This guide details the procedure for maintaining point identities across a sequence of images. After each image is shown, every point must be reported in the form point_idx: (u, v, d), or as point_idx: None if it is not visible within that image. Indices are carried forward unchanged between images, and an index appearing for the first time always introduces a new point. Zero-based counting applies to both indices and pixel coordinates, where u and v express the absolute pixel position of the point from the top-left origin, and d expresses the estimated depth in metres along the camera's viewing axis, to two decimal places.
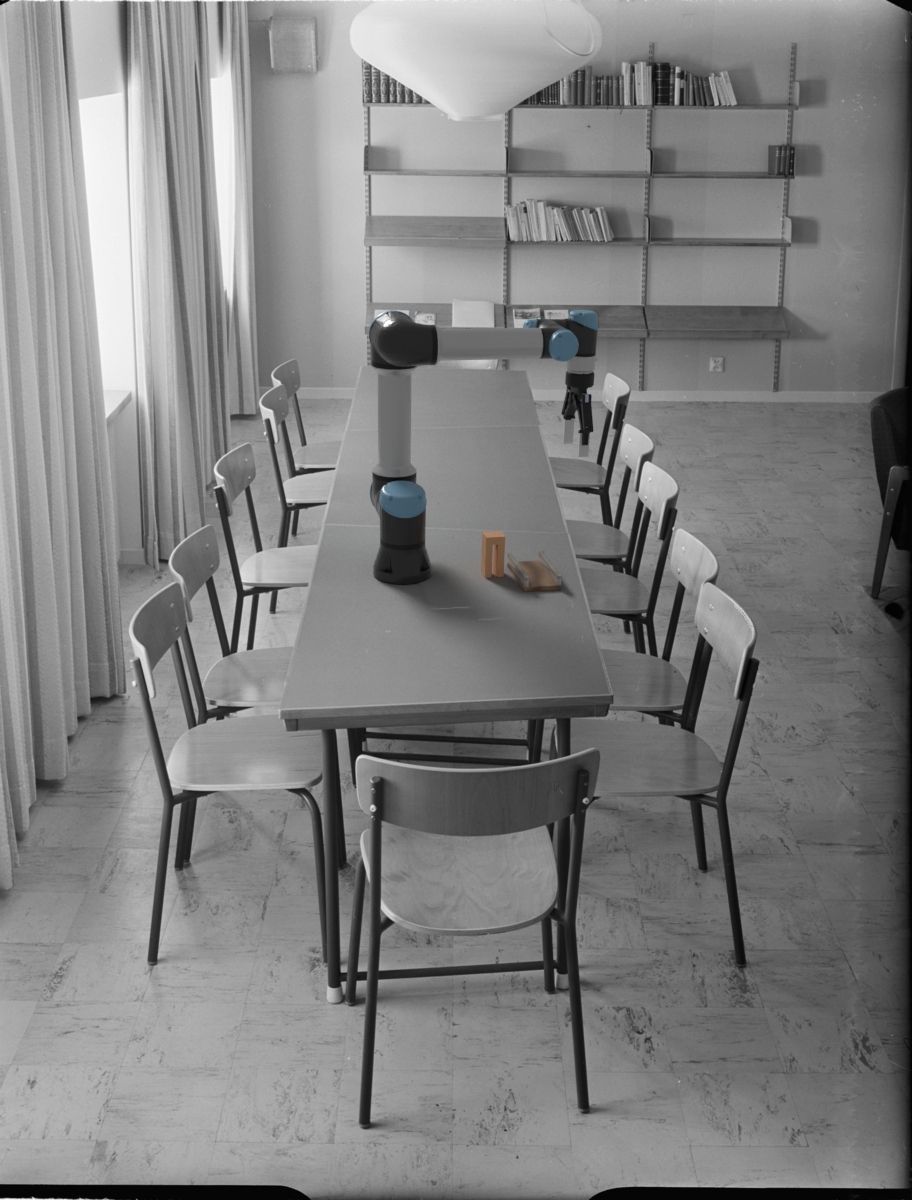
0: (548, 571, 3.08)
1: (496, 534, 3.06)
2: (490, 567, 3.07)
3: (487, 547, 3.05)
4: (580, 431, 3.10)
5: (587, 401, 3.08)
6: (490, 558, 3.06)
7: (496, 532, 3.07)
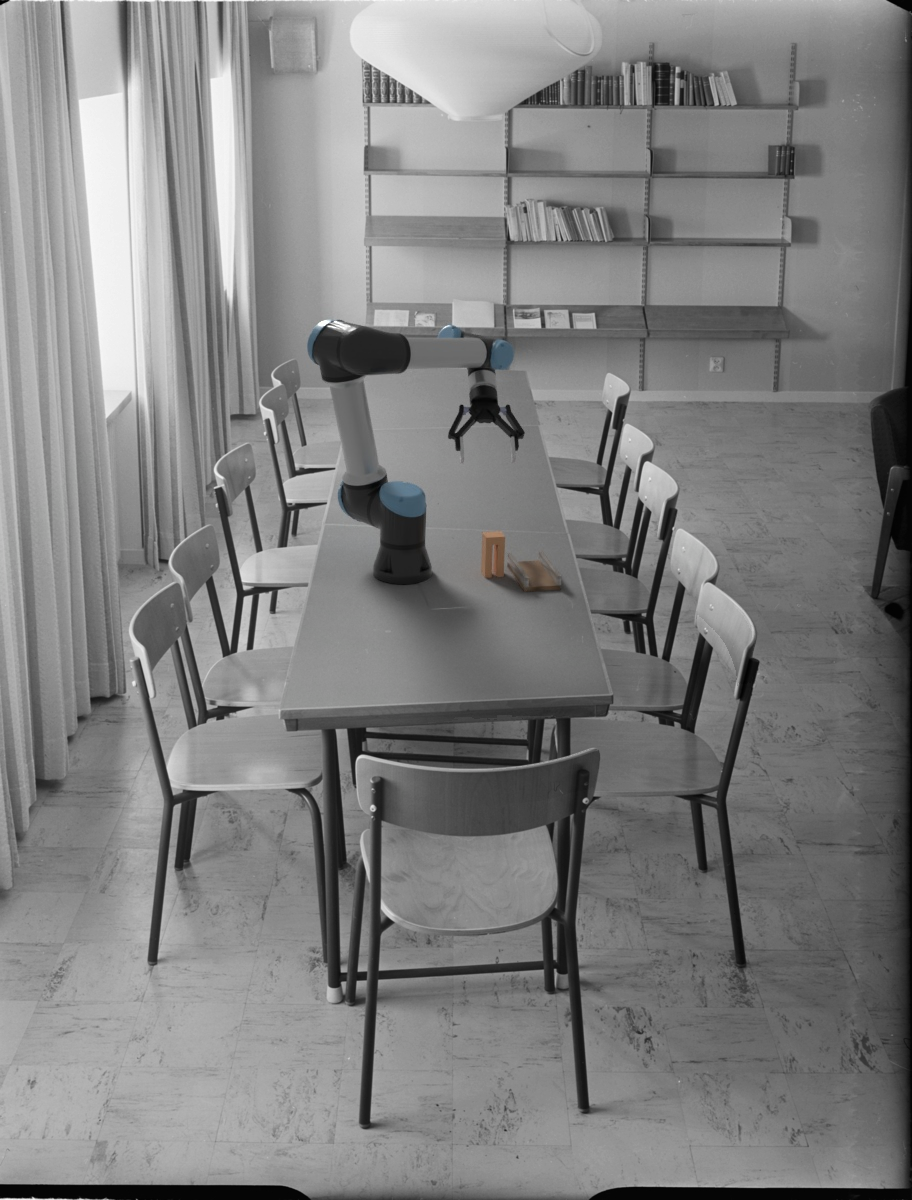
0: (548, 571, 3.08)
1: (496, 534, 3.06)
2: (490, 567, 3.07)
3: (487, 547, 3.05)
4: (518, 433, 3.14)
5: None
6: (490, 558, 3.06)
7: (496, 532, 3.07)
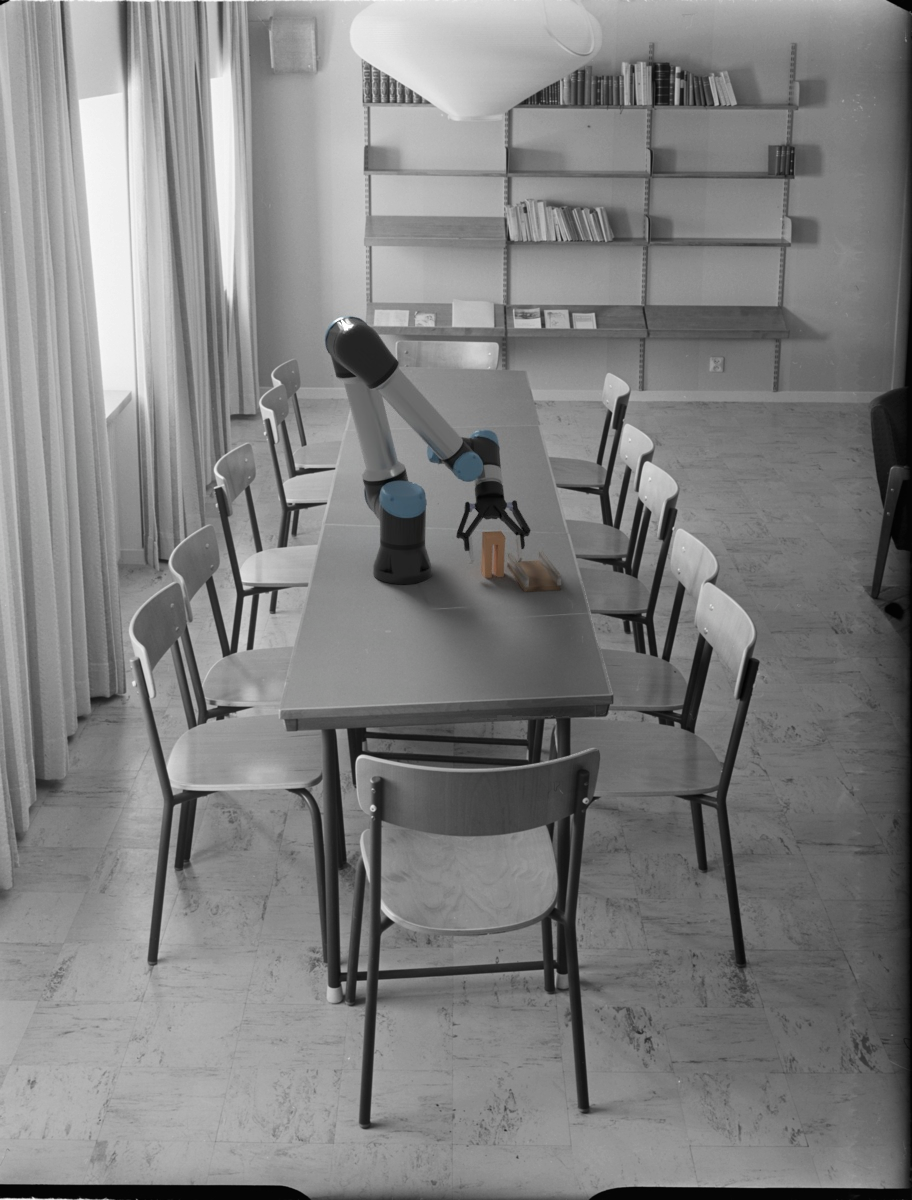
0: (548, 571, 3.08)
1: (496, 534, 3.06)
2: (490, 567, 3.07)
3: (487, 547, 3.05)
4: (524, 532, 3.08)
5: None
6: (490, 558, 3.06)
7: (496, 532, 3.07)
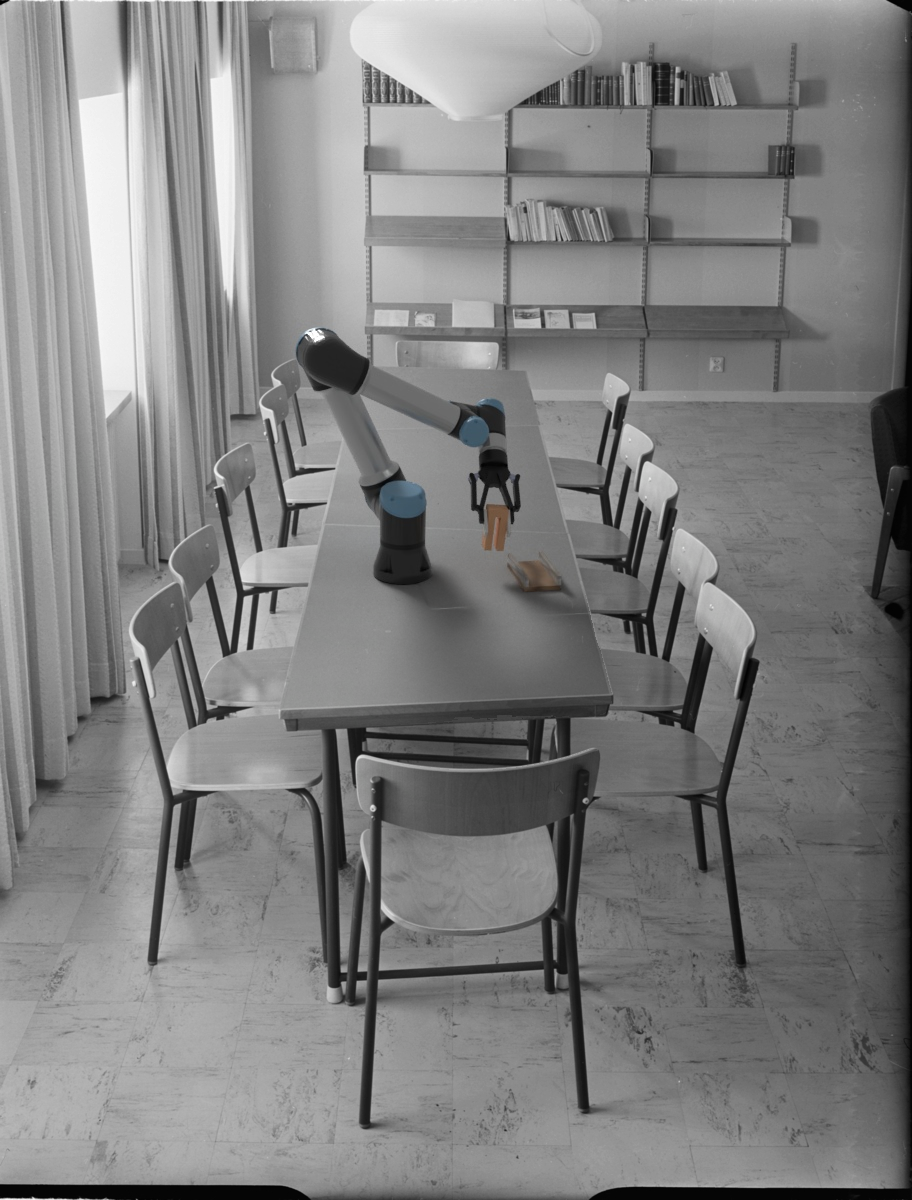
0: (548, 571, 3.08)
1: (500, 507, 3.04)
2: (491, 540, 3.04)
3: (490, 519, 3.02)
4: (514, 507, 3.04)
5: None
6: (492, 531, 3.03)
7: (500, 505, 3.05)
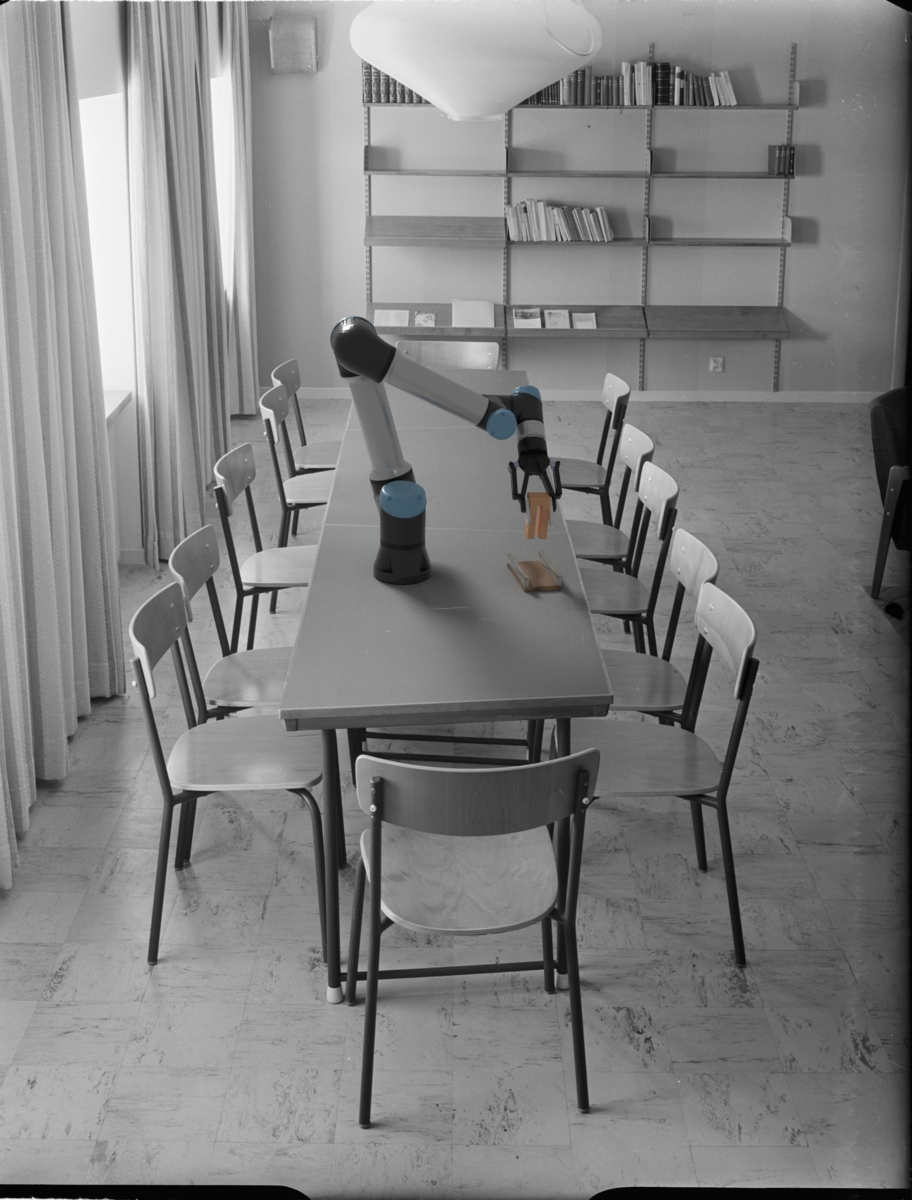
0: (548, 571, 3.08)
1: (541, 494, 3.00)
2: (533, 528, 3.01)
3: (532, 507, 2.99)
4: (555, 495, 3.01)
5: None
6: (534, 519, 3.00)
7: (541, 493, 3.01)
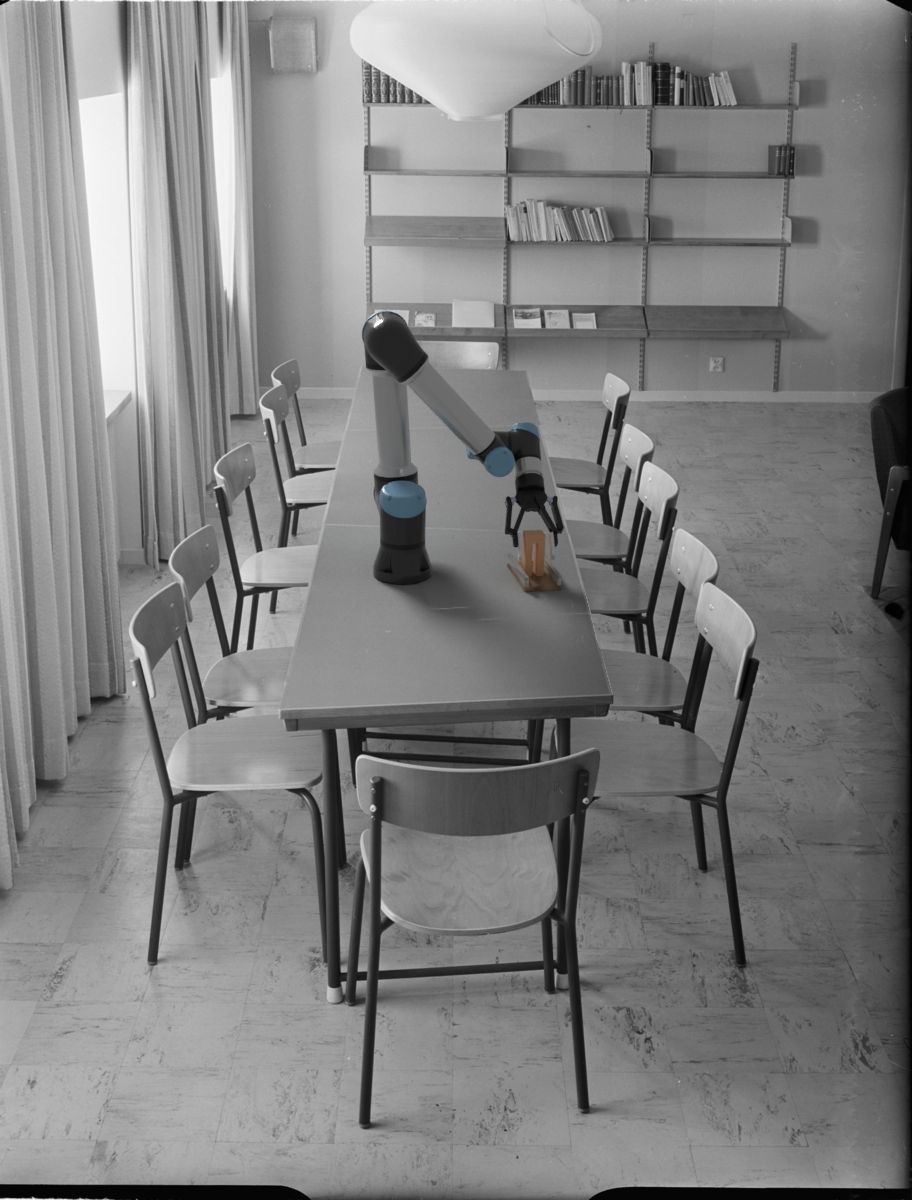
0: (548, 571, 3.08)
1: (536, 532, 3.04)
2: (530, 566, 3.05)
3: (527, 546, 3.03)
4: (557, 529, 3.05)
5: None
6: (530, 557, 3.04)
7: (537, 531, 3.05)
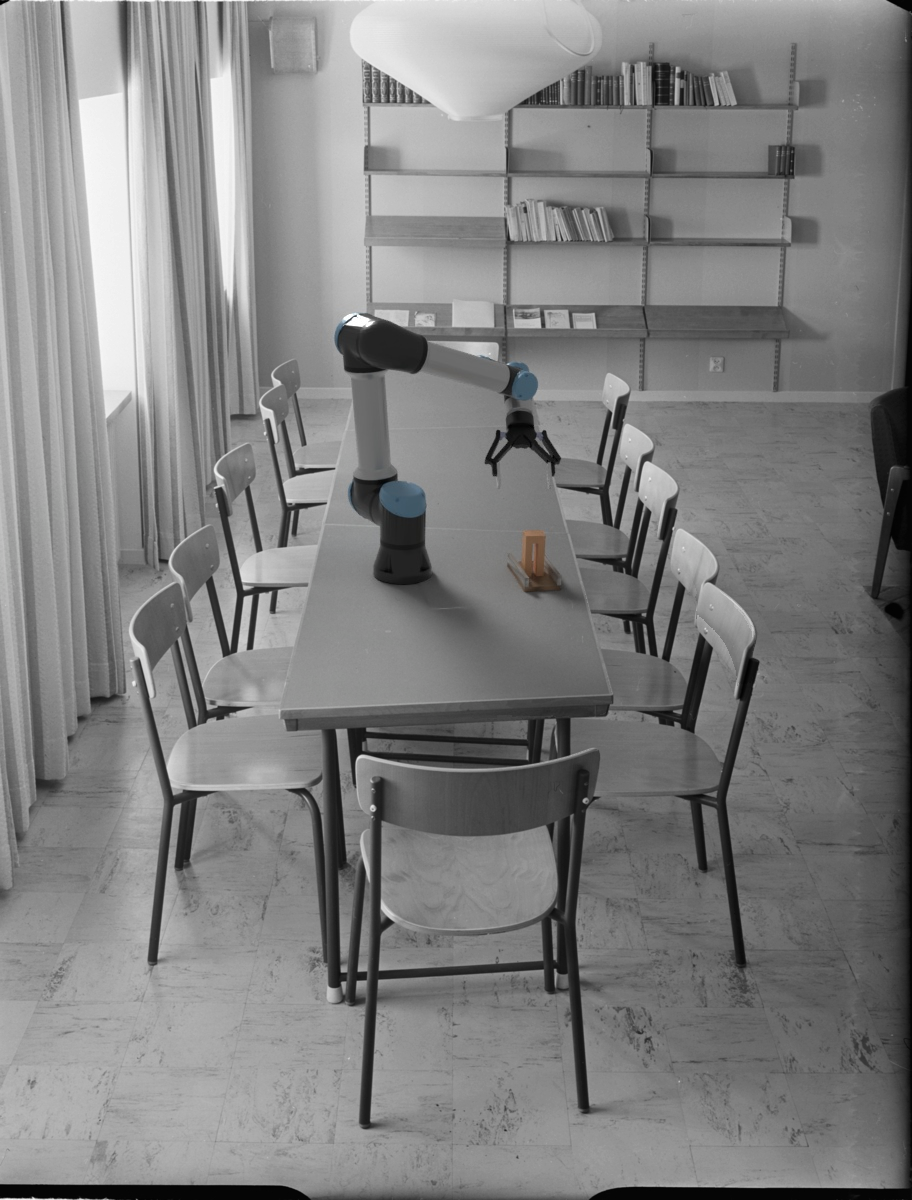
0: (548, 571, 3.08)
1: (536, 532, 3.04)
2: (530, 566, 3.05)
3: (527, 546, 3.03)
4: (554, 459, 3.15)
5: None
6: (530, 557, 3.04)
7: (537, 531, 3.05)
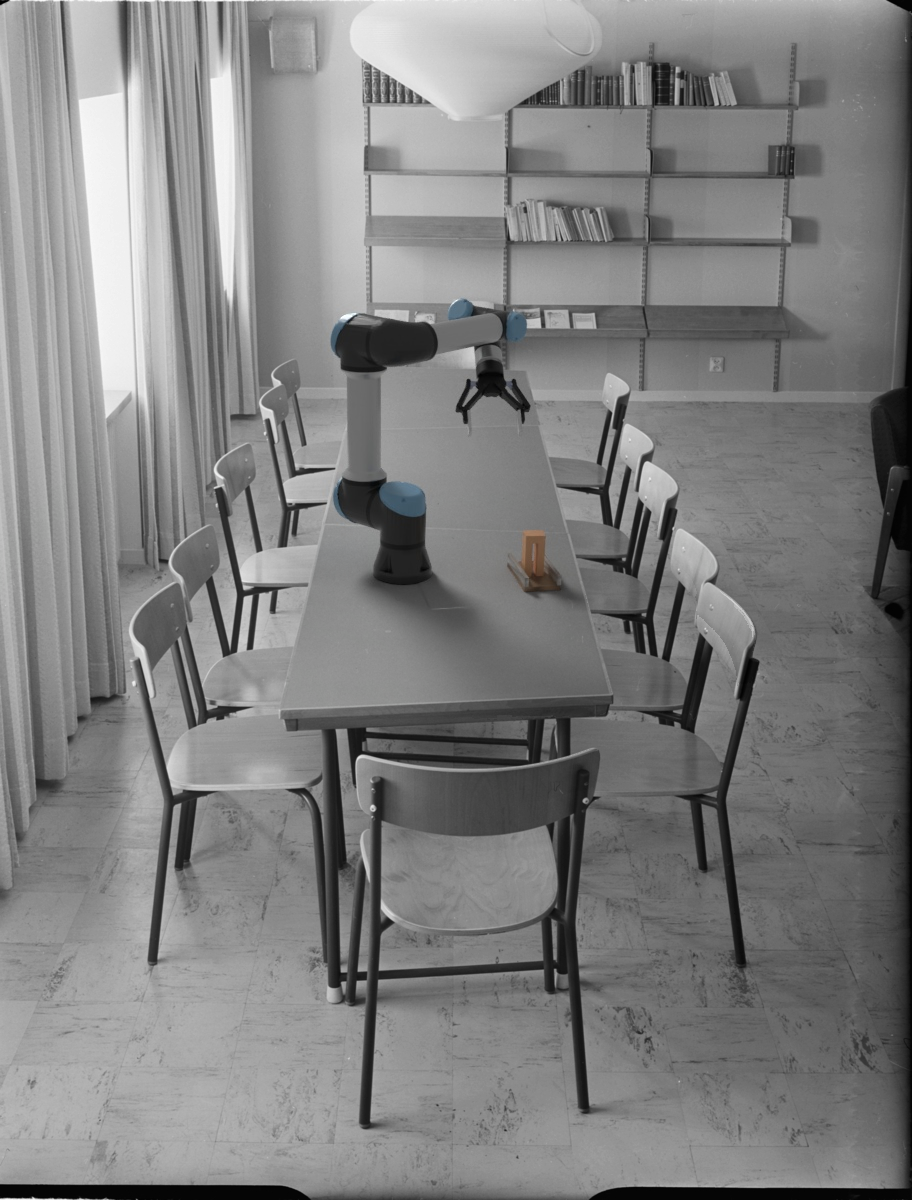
0: (548, 571, 3.08)
1: (536, 532, 3.04)
2: (530, 566, 3.05)
3: (527, 546, 3.03)
4: None
5: None
6: (530, 557, 3.04)
7: (537, 531, 3.05)
